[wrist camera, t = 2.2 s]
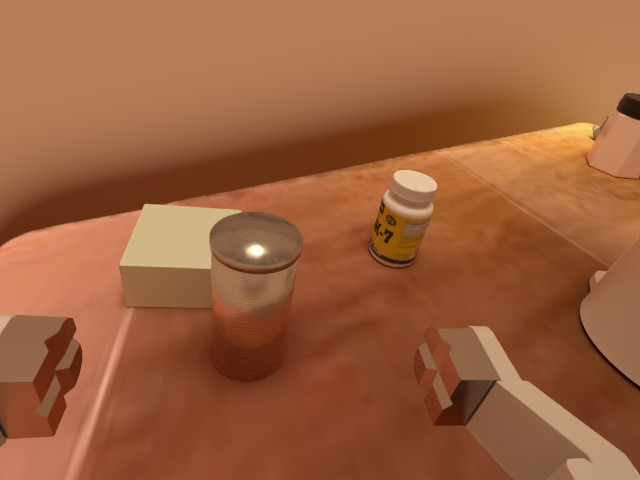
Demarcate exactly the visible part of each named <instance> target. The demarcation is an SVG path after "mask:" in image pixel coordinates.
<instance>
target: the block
mask: <svg viewBox="0 0 640 480" xmlns="http://www.w3.org/2000/svg"><path fill="white" fill-rule="evenodd" d="M236 213H241V210H230V209H215V208H199V207H184V206H169V205H153V204H145V205H144V207H143V210H142V212H141V214H140V217H139V219H138V221H137V224H136V226H135V229H134V231H133V233H132V236H131V238H130V240H129V243H128V245H127V248H126V250H125V252H124V255H123V257H122V260H121V262H120V264H119V268H120V274H121V280H122V285H123V291H124V297H125V303H126V307H174V308H211V250H210V246H209V234H210V231H211V229H212V227H213V226H214V225H215V224H216V223H217V222H218V221H219V220H221V219H223V218H224V217H227V216H229V215H232V214H236Z"/></svg>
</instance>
